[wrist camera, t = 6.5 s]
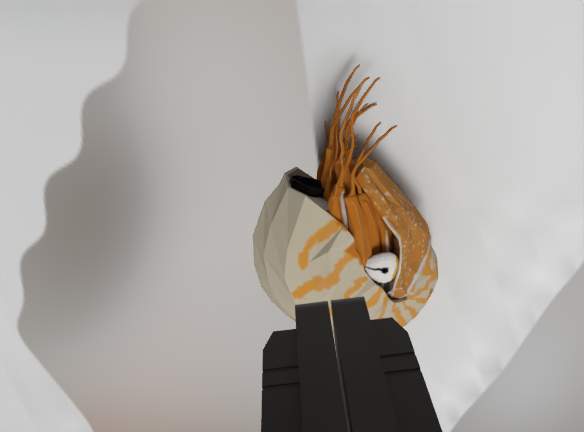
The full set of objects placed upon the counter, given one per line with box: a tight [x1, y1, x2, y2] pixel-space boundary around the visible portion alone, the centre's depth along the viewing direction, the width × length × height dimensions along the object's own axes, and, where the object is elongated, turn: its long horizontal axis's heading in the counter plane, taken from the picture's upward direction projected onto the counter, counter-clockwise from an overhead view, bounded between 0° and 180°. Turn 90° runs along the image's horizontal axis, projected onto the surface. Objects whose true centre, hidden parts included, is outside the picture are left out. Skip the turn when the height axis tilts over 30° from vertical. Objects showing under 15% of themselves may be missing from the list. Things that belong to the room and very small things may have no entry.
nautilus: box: [253, 65, 438, 333], centre depth 39 cm, size 8×22×15 cm
